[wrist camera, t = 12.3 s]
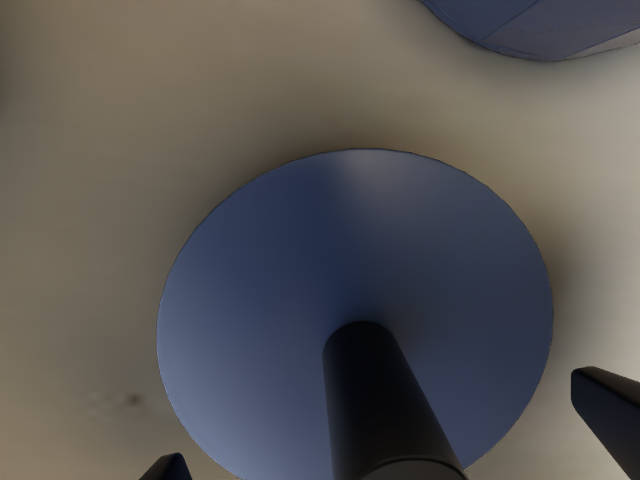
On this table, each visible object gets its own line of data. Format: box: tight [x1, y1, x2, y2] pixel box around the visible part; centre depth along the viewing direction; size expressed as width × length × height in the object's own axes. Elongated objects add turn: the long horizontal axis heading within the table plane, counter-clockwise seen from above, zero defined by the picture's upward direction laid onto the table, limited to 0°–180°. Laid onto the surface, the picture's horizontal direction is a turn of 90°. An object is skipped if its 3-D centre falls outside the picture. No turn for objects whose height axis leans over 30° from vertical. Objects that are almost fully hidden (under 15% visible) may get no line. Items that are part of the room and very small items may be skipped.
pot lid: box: [157, 148, 554, 480], centre depth 8 cm, size 12×12×6 cm
